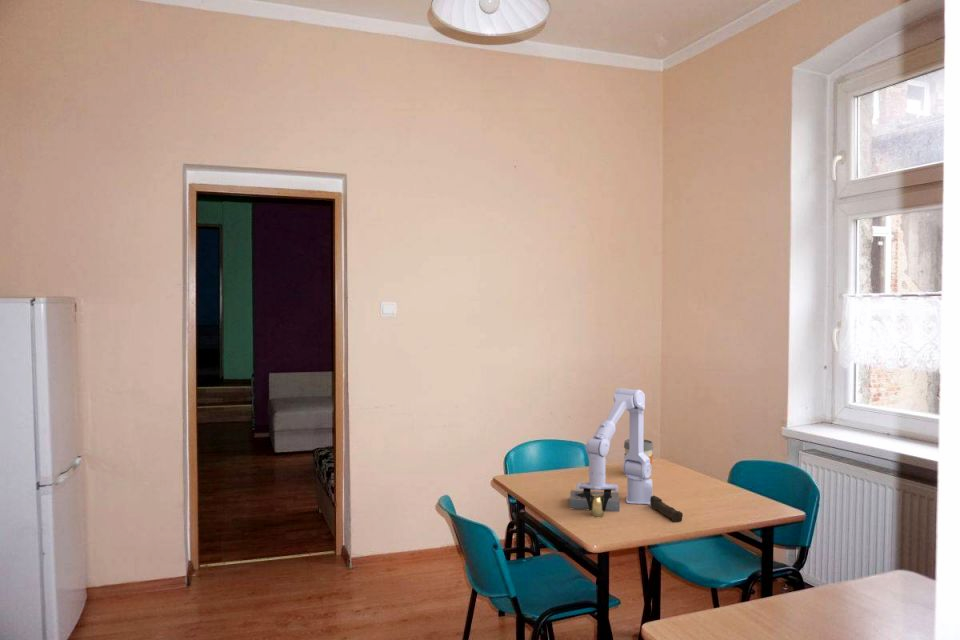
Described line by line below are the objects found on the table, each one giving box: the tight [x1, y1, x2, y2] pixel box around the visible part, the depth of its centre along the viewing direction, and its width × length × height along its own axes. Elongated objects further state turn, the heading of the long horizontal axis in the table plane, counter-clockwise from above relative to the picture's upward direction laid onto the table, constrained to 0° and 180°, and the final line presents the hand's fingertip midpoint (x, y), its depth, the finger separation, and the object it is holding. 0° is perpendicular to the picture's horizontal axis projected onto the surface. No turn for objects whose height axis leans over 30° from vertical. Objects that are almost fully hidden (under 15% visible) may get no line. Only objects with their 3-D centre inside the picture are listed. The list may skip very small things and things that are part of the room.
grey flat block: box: [569, 489, 621, 512], centre depth 241 cm, size 18×12×4 cm, turn 80°
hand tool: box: [649, 495, 683, 523], centre depth 231 cm, size 19×4×5 cm, turn 11°
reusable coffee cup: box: [623, 439, 654, 465], centre depth 283 cm, size 12×12×15 cm
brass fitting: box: [590, 494, 604, 518], centre depth 229 cm, size 4×4×7 cm
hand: (597, 510), depth 229 cm, fingers closed on brass fitting, 4 cm apart
